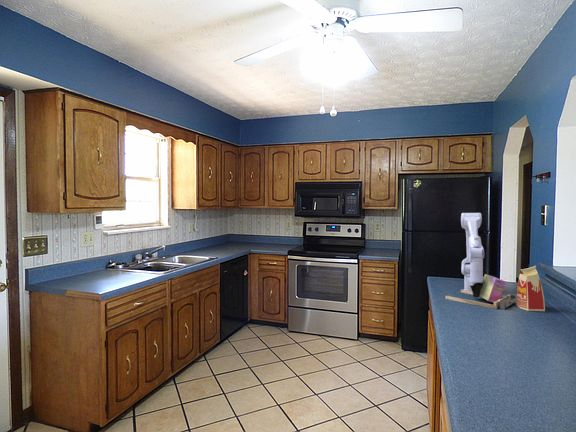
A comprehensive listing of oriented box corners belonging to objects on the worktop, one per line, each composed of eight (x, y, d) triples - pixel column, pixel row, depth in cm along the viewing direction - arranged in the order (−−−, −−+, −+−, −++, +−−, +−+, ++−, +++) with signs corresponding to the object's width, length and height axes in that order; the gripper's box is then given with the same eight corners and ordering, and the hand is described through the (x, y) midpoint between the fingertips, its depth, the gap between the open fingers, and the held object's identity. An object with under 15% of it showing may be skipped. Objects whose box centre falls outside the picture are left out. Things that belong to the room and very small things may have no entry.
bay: (461, 292, 194) (461, 285, 194) (518, 302, 173) (518, 294, 173) (445, 298, 182) (445, 291, 182) (504, 310, 161) (504, 302, 161)
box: (499, 304, 171) (506, 281, 170) (488, 301, 171) (495, 278, 170) (488, 298, 181) (495, 276, 180) (477, 295, 181) (484, 273, 181)
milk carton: (533, 305, 168) (534, 264, 167) (546, 311, 159) (546, 267, 158) (513, 305, 169) (514, 264, 168) (524, 311, 160) (525, 267, 159)
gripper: (473, 267, 187) (473, 292, 187) (462, 271, 177) (462, 298, 178) (488, 269, 181) (488, 295, 182) (476, 273, 172) (476, 301, 172)
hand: (476, 297), depth 179 cm, fingers closed
